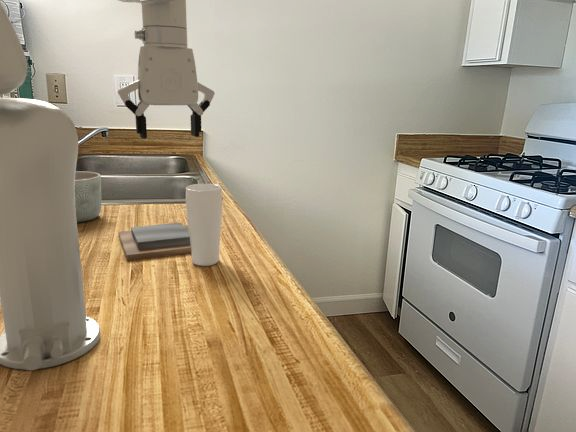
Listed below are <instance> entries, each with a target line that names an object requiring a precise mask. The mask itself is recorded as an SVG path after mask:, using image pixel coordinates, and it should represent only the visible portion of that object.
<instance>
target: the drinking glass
mask: <svg viewBox="0 0 576 432" xmlns="http://www.w3.org/2000/svg"><path fill="white" fill-rule="evenodd" d="M222 190H223V189H222V186H221V185H219V184H215V183H214V184H213V183H194V184H189V185H187V186H186V187H185V213H186V218H187V225H188V228H189V236H190V245H191V253H190V254H191V262H192V263H193V264H194V265H196V266H200V267H209V266H213V265H216V264H217V263H218V262H219V261H220V244H221V232H222V231H221V230H222V217H223V216H222V215H223V191H222Z"/></svg>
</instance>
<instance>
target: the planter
mask: <svg viewBox="0 0 576 432" xmlns="http://www.w3.org/2000/svg"><path fill="white" fill-rule="evenodd" d="M101 178H102V176H101V174H100V173H98V172H93V171H80V170H79V171H76V172H75V208H76V220H77V223H82V222H88V221H92V220H93V219H94V220H95V218H97V217H98V216H100V214H101V210H102V182H101V181H102V180H101Z"/></svg>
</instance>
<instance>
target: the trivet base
mask: <svg viewBox="0 0 576 432" xmlns="http://www.w3.org/2000/svg"><path fill="white" fill-rule="evenodd" d="M117 234H118V239H119V241H120V242H119V243H120V245H121V247H122V250H123V254H124V256H125V259H126V261H127V262H128V261H136V260H146V259H153V258H161V257H168V256H169V257H170V256H177V255H187V254H191V245H190V236H189V228H188V224H186V225H183V223H182V222H174V223H173V222H172V223H163V224H153V225H152V224H151V225H141V226H131V227H130V230H124V231H118V233H117Z"/></svg>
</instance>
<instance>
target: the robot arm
mask: <svg viewBox="0 0 576 432" xmlns="http://www.w3.org/2000/svg"><path fill="white" fill-rule="evenodd" d="M118 1H119V2H121V3H138V4H141V13H142V14H141V16H142V27H141V29H139V30H134V40H140V41H141V42H142V44H143V45H142V46H140V48H139V52H138V53H139V54H138V63H137V64H138V65H137V80H135V81H133V82H131V83H129V84H127V85H125V86H123V87H120V88H119V89H118V90H117V94H118V96H119V97H120V99H121V101H122V102H123V105H124V106H125V107H126V108H127V109H128V110H129V111H131V113H132V114H133V115H134V116H135V129H136V134H137V135H138V134H139V137H140V139H147V138H148V131H147V117H146V116H145V115H144V114H145V112H146V110H147V109H148V108H149V106H187V107H188V108H189V109H190V111H191V112H192V113H191V115H190V135H191V136H193V137H195V138H199V137H200V133H202V116H203V114H204V112H205V111H206V110H207V109H208V108H209V107H210V105H211V102H212V100H213V99H214V96H215V91H214V90H212V89H211V88H209V87H208V86H206V85H203V84H202V83H200V82H199V81H198V75H197V74H198V73H197V68H196V67H197V66H196V61H195V54H194V51H193V48H189V47H188V30H187V29H188V27H187V25H188V24H187V0H118ZM21 43H22V42H21V41H20V39H19V36H18V34H17V32H16V29H15V27H14V26H13V23H12V21H11V19H10V17H9V15H8V13H7V10H6V9H5V5H3V2H2V0H0V96H4V95H7V94H11V93H13V92H15V91H17V89H19V88H20V87H21V86H22V85H23V84H24V82H25V81H26V78H27V74H28V62H27V61H28V60H27V57H26V55H25V51H24V47H23V45H22V44H21ZM135 91H137V93H138V94H137V95H138V100H139V102H138V103H137V104H136V103H134V102H133V101H132V100H131V98H130V96H129V95H130V94H131V93H133V92H135ZM199 92H200V93H201V94H203V95H204V97H203V99H202V101H201V102H200V103H199V104H198V101H199ZM78 155H79V136H78V131H77V128H76V126H75V123H74V122H73V120H72V119H71V117H70V116H69V115H68V114H67V113H66V112H65V111H64V110H62V109H61V108H59V107H58V106H56V105H54V104H51V103H49V102H47V101H43V100H39V99H33V98H22V97H21V98H18V97H17V98H16V97H0V304H1V311H2V313H1V314H2V318H3V325H4V332H3V333H2V334H1V335H0V365H2V366H4V367H7V368H11V369H14V370H25V371H26V370H27V371H36V370H39V369H45V368H46V369H47V368H51V367H55V366H60V365H62V364H66V363H68V362H71V361H73V360H76V359H78V358H80V357H81V356H83V355H85V354H86V353H89V351H90V350H92V349H93V348H94V347H95V346H96V345H97V343H98V342H99V341H100V337H101V331H100V330H101V329H100V325H99V323H98V322H97V321H96V320H94V318H91V317H88V316H87V311H86V302H85V292H84V281H83V280H84V279H83V272H82V262H81V252H80V241H79V232H78V222H77V220H76V208H75V172H77V163H78Z"/></svg>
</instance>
